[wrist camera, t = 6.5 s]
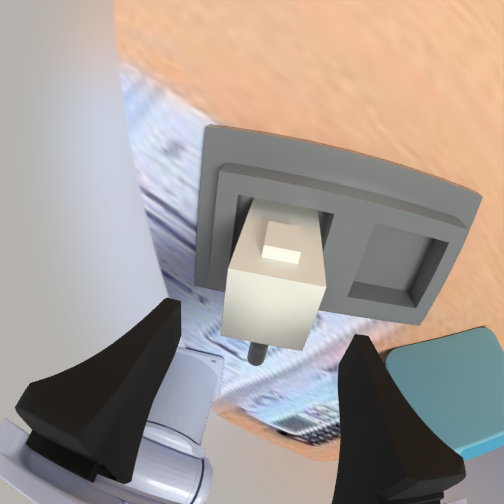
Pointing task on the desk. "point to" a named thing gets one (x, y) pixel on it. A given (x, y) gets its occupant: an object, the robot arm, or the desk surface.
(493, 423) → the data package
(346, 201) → the jack panel
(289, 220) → the plug
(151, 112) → the desk surface
